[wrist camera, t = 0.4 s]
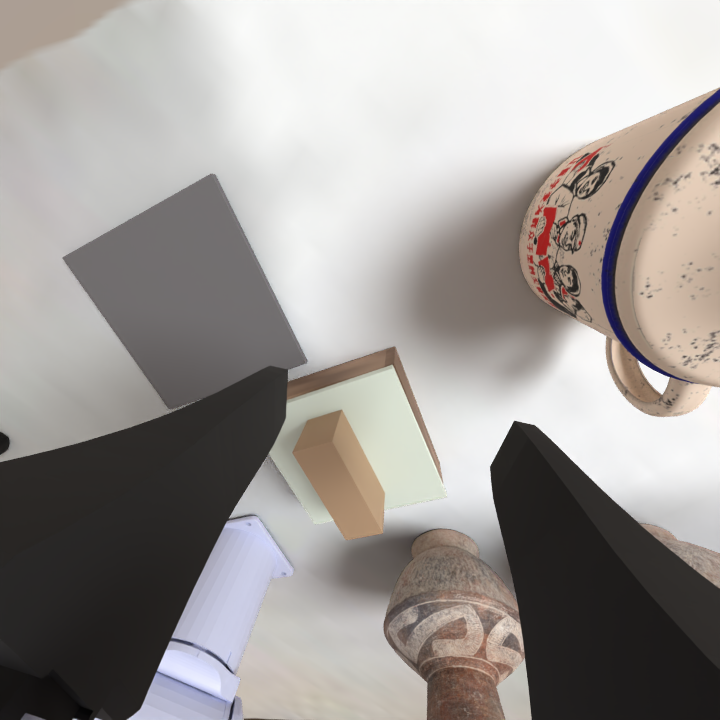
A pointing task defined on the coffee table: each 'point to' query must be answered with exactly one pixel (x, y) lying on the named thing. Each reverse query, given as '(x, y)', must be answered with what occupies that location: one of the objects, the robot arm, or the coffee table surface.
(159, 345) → the mat
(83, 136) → the coffee table surface
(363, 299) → the coffee table surface
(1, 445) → the dark green stone
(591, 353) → the coffee table surface
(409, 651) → the pottery
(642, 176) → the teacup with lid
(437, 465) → the tea box
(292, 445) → the lid
